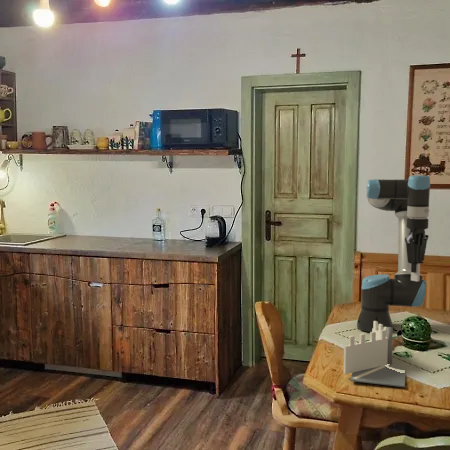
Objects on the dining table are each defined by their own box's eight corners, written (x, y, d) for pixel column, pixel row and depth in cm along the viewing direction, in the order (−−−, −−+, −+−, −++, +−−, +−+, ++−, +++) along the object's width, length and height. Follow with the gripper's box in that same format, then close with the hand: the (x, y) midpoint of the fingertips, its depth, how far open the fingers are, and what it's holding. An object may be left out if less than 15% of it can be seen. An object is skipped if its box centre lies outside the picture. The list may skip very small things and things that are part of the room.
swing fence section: (385, 363, 209) (386, 329, 208) (387, 364, 208) (388, 329, 207) (343, 373, 200) (344, 337, 199) (345, 374, 199) (346, 337, 198)
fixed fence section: (392, 365, 209) (393, 328, 207) (387, 365, 208) (388, 328, 207) (375, 352, 223) (376, 318, 221) (370, 353, 222) (371, 318, 221)
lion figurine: (387, 329, 233) (408, 335, 228) (386, 340, 235) (407, 347, 230) (372, 345, 223) (394, 352, 217) (371, 356, 224) (393, 364, 219)
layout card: (359, 351, 226) (359, 349, 226) (406, 355, 220) (406, 354, 220) (350, 380, 195) (350, 379, 195) (404, 387, 189) (404, 385, 189)
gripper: (417, 220, 199) (415, 285, 202) (436, 217, 207) (433, 279, 211) (398, 218, 204) (396, 281, 208) (417, 215, 213) (415, 276, 216)
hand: (415, 280), depth 209 cm, fingers closed
